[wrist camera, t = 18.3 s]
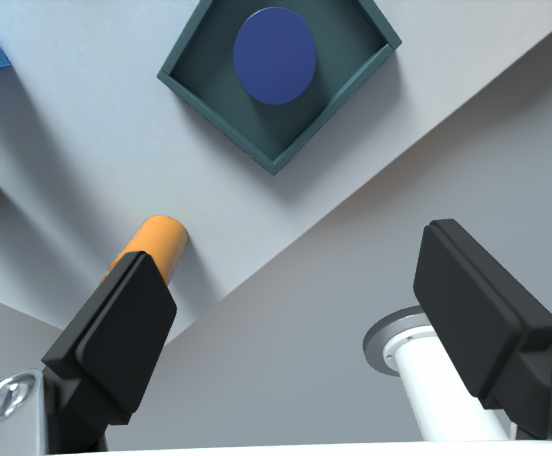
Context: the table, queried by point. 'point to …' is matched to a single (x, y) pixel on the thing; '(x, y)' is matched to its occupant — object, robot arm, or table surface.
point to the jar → (158, 244)
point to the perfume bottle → (3, 59)
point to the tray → (293, 115)
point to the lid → (275, 55)
